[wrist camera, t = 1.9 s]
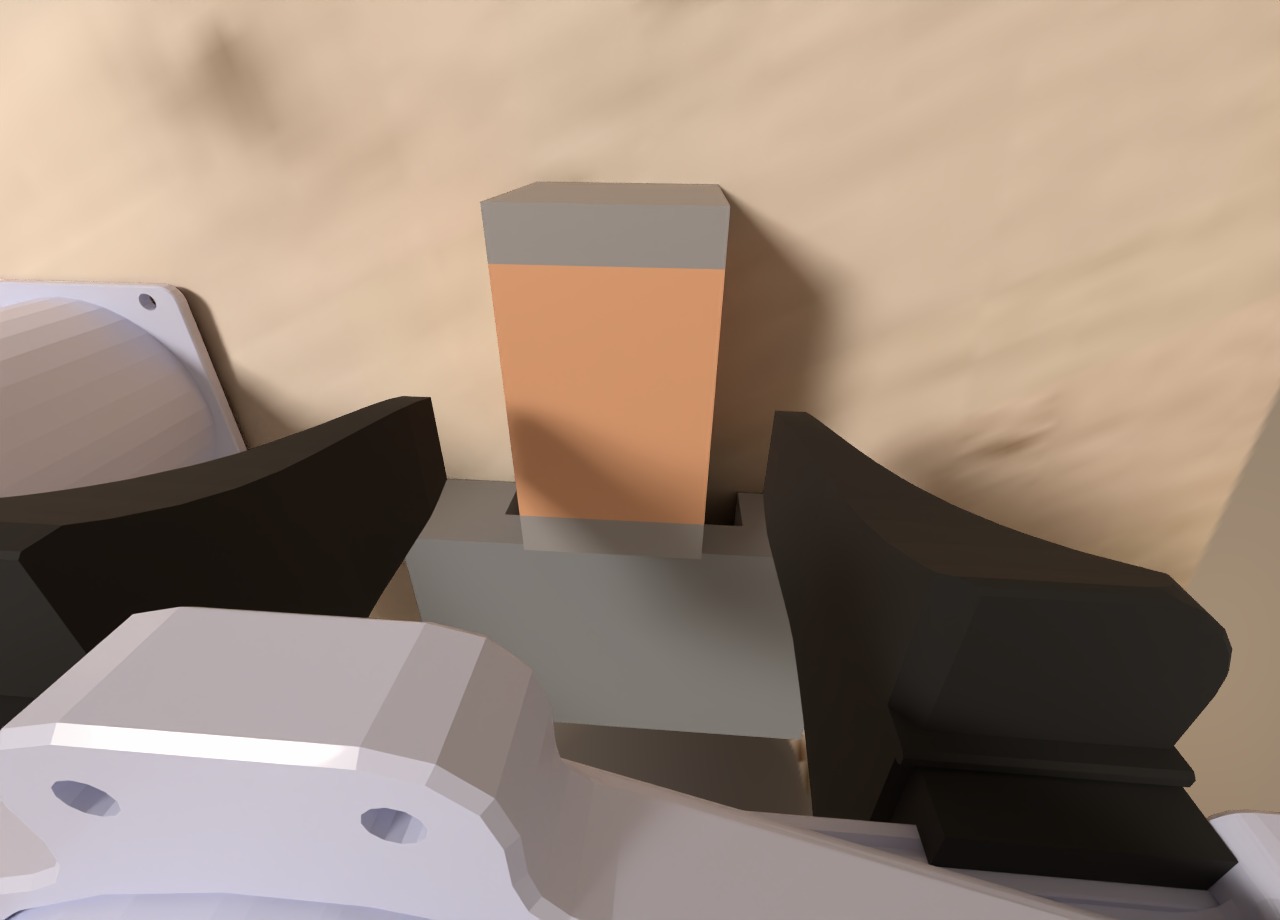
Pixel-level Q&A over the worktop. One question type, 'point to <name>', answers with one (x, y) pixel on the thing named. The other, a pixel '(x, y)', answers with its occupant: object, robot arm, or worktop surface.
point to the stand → (620, 618)
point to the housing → (609, 359)
